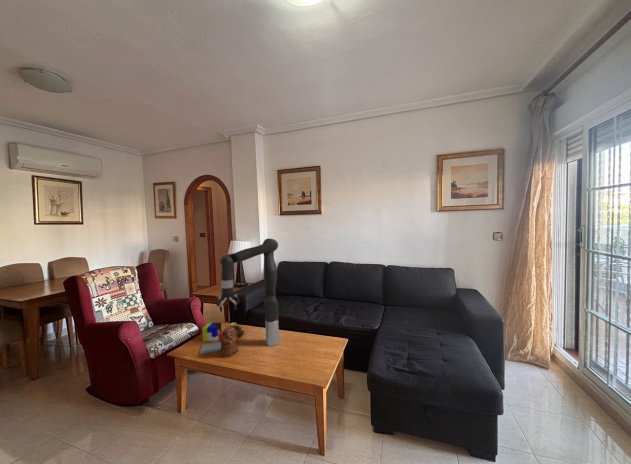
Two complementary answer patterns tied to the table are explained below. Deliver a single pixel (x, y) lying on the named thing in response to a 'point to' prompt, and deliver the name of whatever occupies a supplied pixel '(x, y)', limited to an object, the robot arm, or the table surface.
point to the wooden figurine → (229, 342)
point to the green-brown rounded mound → (238, 328)
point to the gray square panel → (210, 348)
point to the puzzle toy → (211, 331)
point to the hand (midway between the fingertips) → (228, 310)
